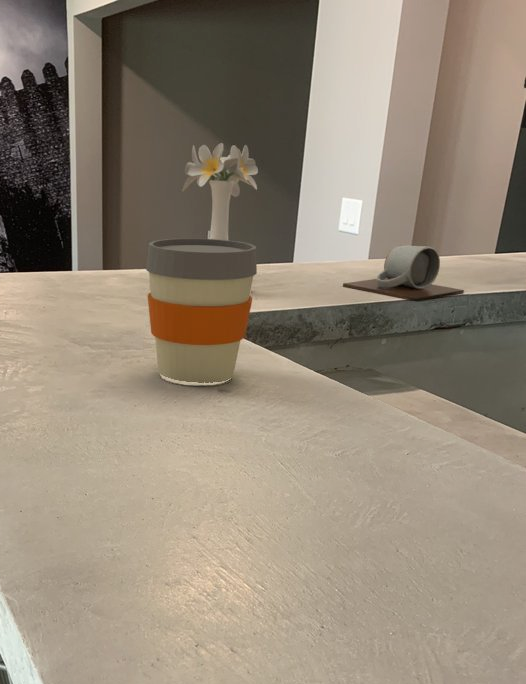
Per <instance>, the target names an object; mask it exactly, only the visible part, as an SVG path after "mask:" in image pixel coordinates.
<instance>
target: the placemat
mask: <svg viewBox="0 0 526 684" xmlns="http://www.w3.org/2000/svg"><path fill="white" fill-rule="evenodd" d="M383 280H388V279H387V277H386V278H385V279H383ZM342 287H345V288H348V289H354V290H359V291H364V292H369V293H374V294H379V295H383V296H389V297H393V298H399V299H405V300H409V301H415V302H420V301H426V300H432V299H438V298H443V297H451V296H455V295H456V296H457V295H460V294H464V293H465V290H464V289H461V288H454V287H448V286H443V285H438V284H434V283H432V284H431V285H430V286H428V287H427V288H424V289H416V288H412V287H408V286H404V285H398V286H395V287H390V288H382V287H380V286H379V285H378V283H377V278H372V279H365V280H357V281H351V282H343V283H342Z"/></svg>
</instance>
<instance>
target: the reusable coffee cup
mask: <svg viewBox="0 0 526 684" xmlns="http://www.w3.org/2000/svg"><path fill="white" fill-rule="evenodd" d="M257 264H258V263H257V246H256V245H254V244H251V243H249V242H244V241H237V240H219V239H209V238H194V237H193V238H188V237H187V238H185V237H184V238H165V239H157V240H153V241H150V242H149V243H148V249H147V255H146V265H145V270H146V271H147V272H148V277H149V287H150V292H149V293H148V294H147V304H148V312H149V313H148V314H149V324H150V333H151V335H152V336H153V337H154V339H155V349H156V360H157V361H156V362H157V371H159V372H158V374H159V373H160V374H161V375H163V376H165V377H168V378H171V379H174V380H179V381H186V382H198V383H204V382H205V383H209V382H210V383H213V382H222V381H226V380H228V379H230V378H232V377H233V378H232V380H233V379H234V374H235V370H236V364H237V361H238V360H237V359H238V355H239V349H240V344H241V341H242V340H243V339H245V337H246V332H247V328H248V323H249V318H250V313H251V308H252V303H253V297H252V296H250V294H251V290H252V285H253V279H254V276H256V275H257V273H258V270H257V269H258V268H257V266H258V265H257ZM162 380H164V379H162ZM232 380H230V381H228V382H226V383H223V384H218V385H217V386H220V385H225V384H227V383H230V382H231V381H232ZM164 381H165V382H168V383H171V384H175V385H179V386H183V385H182V384H177V383H173V382H169V381H166V380H164ZM185 386H188V387H192V386H191V385H185ZM214 386H216V385H209V386H208V387H214Z"/></svg>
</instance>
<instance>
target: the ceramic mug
mask: <svg viewBox="0 0 526 684" xmlns="http://www.w3.org/2000/svg"><path fill="white" fill-rule="evenodd" d="M440 259H441V258H440V255H439V253H438V251H437V249H435V248H434V247H432V246H423V245H406V244H404V245H399V246H395V247H394V248H392V249H391V250H390V251H389V252H388V254H387V255H386V257H385V260H384V263H383V270H382V271H381V272H380V273H378V275H376V279H377V283H378V285H379V286H380V287H382V288H390V287H395V286H398V285H404V286H408V287H412V288H416V289H424V288H427V287H428V286H430V285H431V284H434V282H435V281H436V279H437V277H438V274H439V272H440V267H441V260H440ZM386 277H387V279H388V280H383V279H385V278H386Z"/></svg>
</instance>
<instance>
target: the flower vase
mask: <svg viewBox="0 0 526 684" xmlns="http://www.w3.org/2000/svg"><path fill="white" fill-rule="evenodd" d="M224 150H225V149H224V143H223V142H220V143H218V144H217V145H216V146H215V147H214V149H213V151H212V153H211V151H210V149H209V147H208V146H207V145H206V144H202V145H200V147H199V148H198V153H197V152H196V147H195V145H194V144H193V145H192V149H191V160H192V162H191V161H188V162H187V163H186V164H185V167H184V174H185V175H186V176H188V177H187V179H186V180H185V181H184V184H183V187H182V190H181V192H182V193H183V192H184V191H185V190H186V189H187V188H188V187H189V186H190V185H191V184H192V183H193V182H194V181H195V180H196V184H197V185H198V186H199V187H201V188H202V187H204V186H205V185H206V184H207V182H208V183H209V186H210V192H211V201H212V202H211V205H212V206H211V219H210V231H209V237H208V239H219V240H229V212H230V203H231V196H233V197H234V198H237V197H239V196H240V195H241V194H240V193H241V188H240V185H239V181H242V182H243V183H245V184H247V185H249V186H251V187H252V188H253V189H255V190H256V191H257V190H258V185H257V183H256V181H255V179H254V178H253V177H252V176H255V175H257V174H258V173H259V169H258V166H257V165H256V160H255V159H254V158H249V157H250V155H249V153H250V152H249V147H248V145H247V144H245V145H244V146H243V149H242V151H241V150H240V148H238V147H237V145H236V144H235V145H232V146H231V147H230V153H229V155H227V156H223V153H224ZM197 155H198V156H197ZM198 158H199V159H198ZM199 160H200V161H199ZM215 178H217V179H215Z"/></svg>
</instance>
